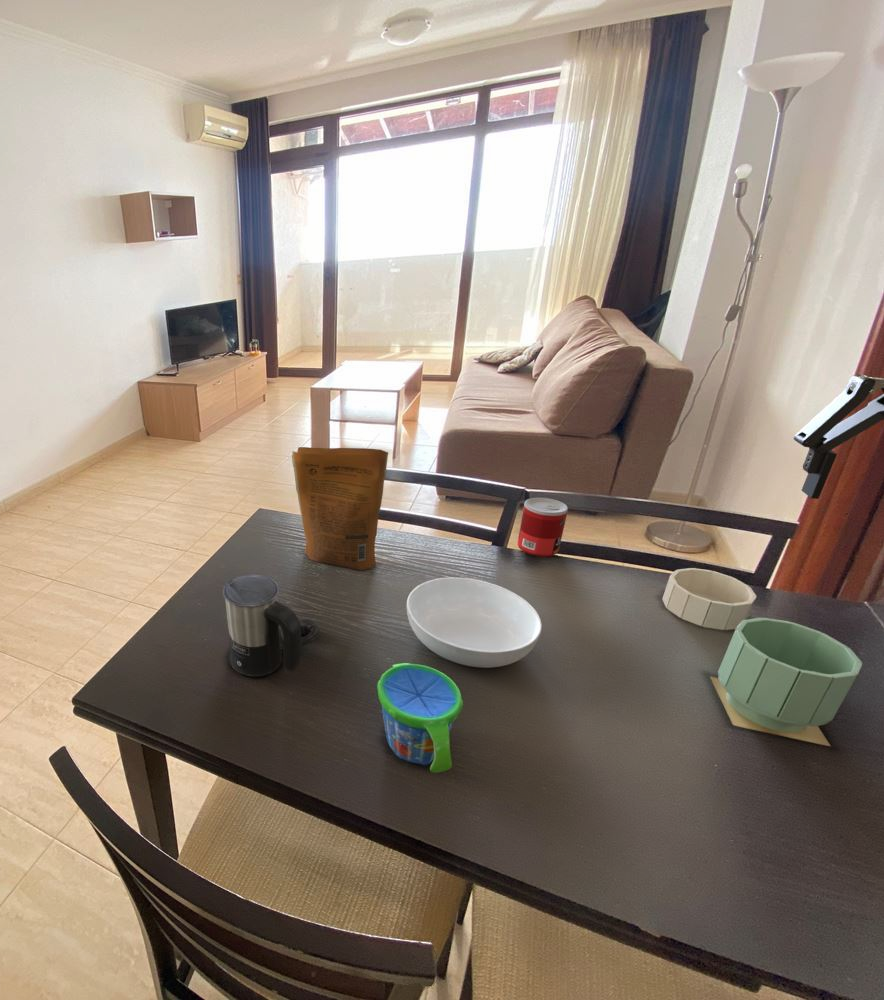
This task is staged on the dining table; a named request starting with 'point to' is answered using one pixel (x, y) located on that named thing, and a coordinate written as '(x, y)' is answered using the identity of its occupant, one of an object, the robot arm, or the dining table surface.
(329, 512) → the pancake mix bag
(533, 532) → the canned food
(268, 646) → the milk frother
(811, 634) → the green bowl
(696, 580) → the cream bowl
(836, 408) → the robot arm
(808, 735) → the placemat
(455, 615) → the serving bowl
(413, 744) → the snack cup
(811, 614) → the dining table surface
